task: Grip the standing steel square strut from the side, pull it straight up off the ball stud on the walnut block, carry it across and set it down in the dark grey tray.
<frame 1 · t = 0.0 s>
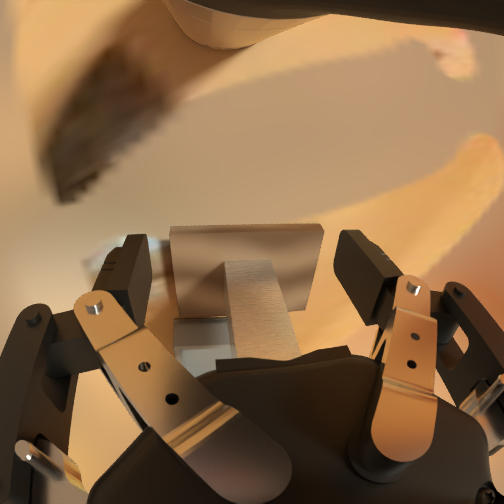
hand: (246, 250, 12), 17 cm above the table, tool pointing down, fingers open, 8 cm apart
stud block: (244, 269, 35), on the table
grey tray: (226, 348, 43), on the table
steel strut: (246, 278, 33), point 1 cm above the table, touching stud block
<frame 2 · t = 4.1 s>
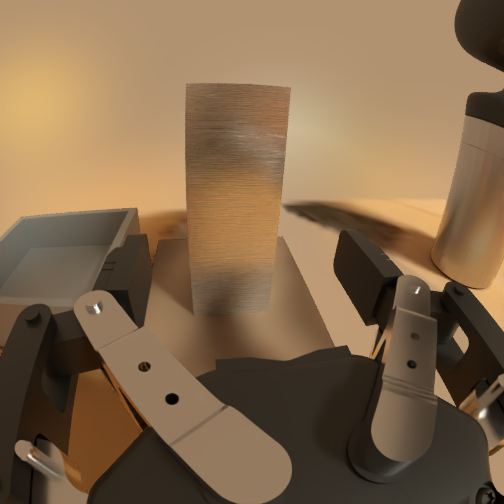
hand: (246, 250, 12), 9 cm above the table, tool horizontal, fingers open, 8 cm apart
stud block: (228, 305, 22), on the table
grey tray: (58, 292, 22), on the table
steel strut: (228, 290, 22), point 1 cm above the table, touching stud block
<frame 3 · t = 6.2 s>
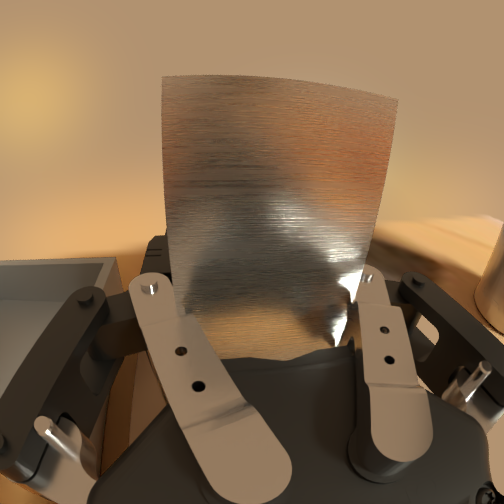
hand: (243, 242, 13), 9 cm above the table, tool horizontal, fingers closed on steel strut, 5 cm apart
stud block: (244, 405, 15), on the table
grey tray: (24, 369, 15), on the table
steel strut: (245, 392, 14), point 2 cm above the table, touching gripper, stud block
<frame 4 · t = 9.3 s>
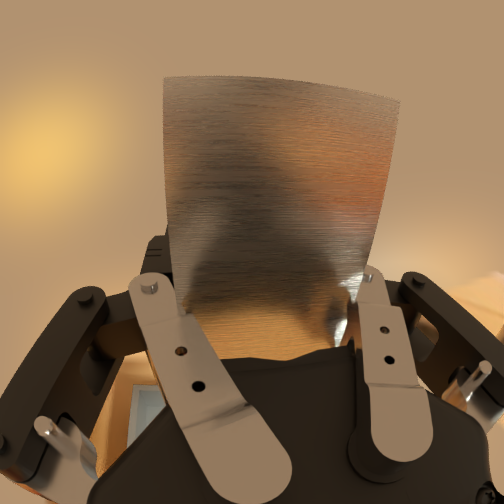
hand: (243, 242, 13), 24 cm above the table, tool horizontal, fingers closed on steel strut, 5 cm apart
grey tray: (207, 461, 24), on the table
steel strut: (246, 393, 14), point 17 cm above the table, touching gripper
when the fingers open (10 cm above the table, at t = 12.6 s): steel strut drops 2 cm, resting on grey tray.
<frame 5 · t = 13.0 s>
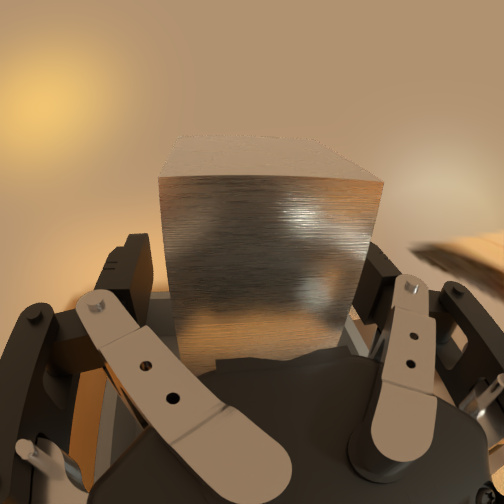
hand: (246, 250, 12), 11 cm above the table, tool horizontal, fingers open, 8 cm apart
stud block: (448, 392, 17), on the table
grey tray: (243, 417, 16), on the table
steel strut: (243, 411, 15), point 1 cm above the table, touching grey tray
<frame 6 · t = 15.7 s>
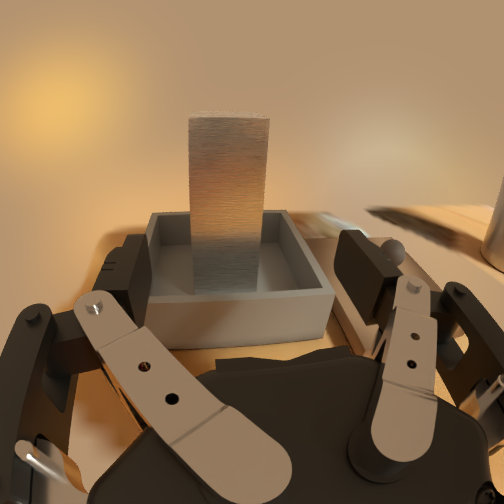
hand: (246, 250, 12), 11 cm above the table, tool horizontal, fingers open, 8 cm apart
stud block: (379, 290, 28), on the table
grey tray: (224, 288, 27), on the table
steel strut: (223, 279, 26), point 1 cm above the table, touching grey tray
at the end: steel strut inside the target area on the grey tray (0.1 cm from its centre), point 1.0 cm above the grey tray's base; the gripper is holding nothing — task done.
